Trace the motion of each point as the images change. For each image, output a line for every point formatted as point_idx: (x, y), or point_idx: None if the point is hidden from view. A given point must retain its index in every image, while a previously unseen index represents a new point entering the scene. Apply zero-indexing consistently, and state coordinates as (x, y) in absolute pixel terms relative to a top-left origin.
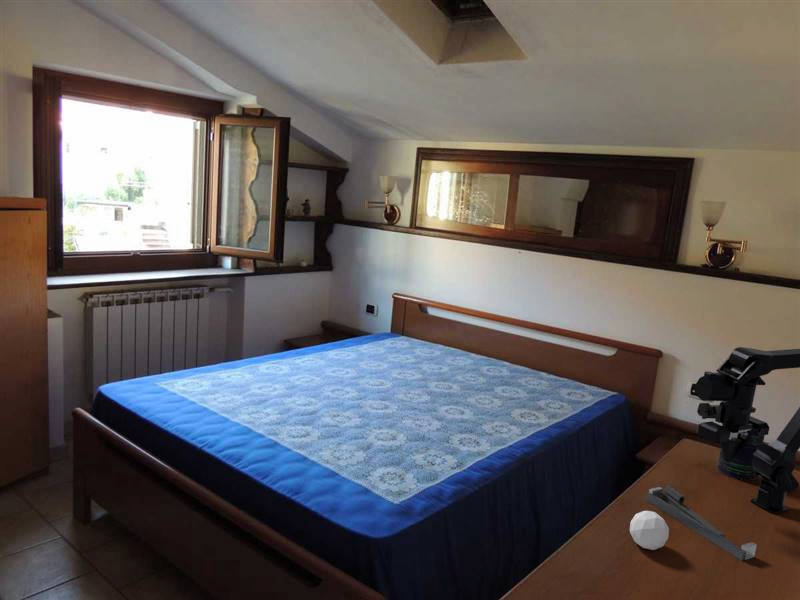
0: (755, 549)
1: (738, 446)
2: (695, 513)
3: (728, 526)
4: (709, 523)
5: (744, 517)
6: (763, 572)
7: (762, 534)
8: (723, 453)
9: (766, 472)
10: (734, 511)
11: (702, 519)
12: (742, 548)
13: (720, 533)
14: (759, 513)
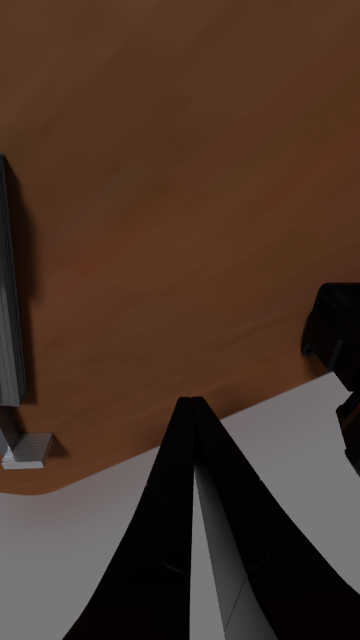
0: (47, 455)
1: (220, 605)
2: (1, 318)
3: (102, 355)
4: (12, 365)
5: (197, 338)
6: None
7: (162, 396)
8: (163, 442)
9: (357, 432)
10: (202, 308)
11: (4, 346)
12: (6, 457)
13: (10, 400)
14: (266, 336)
